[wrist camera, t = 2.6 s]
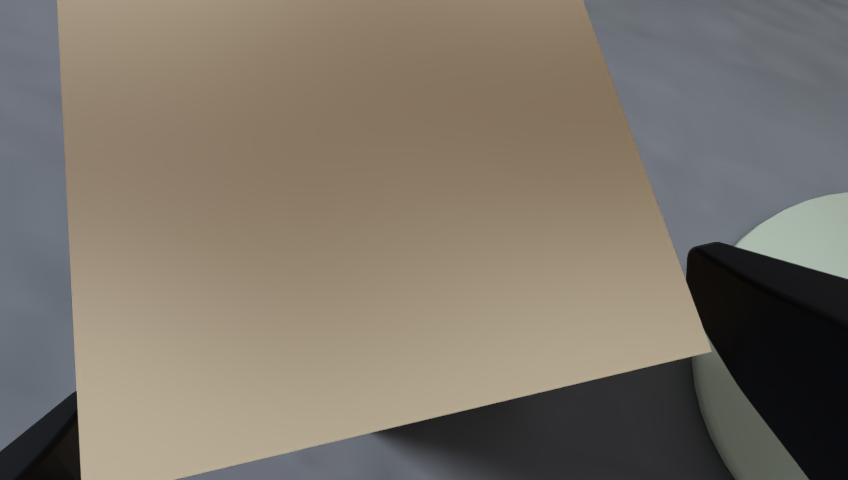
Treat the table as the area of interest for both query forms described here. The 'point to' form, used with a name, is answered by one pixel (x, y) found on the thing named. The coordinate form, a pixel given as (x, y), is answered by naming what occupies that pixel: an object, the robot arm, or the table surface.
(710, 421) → the sage mat
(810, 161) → the table surface
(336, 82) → the maple block
